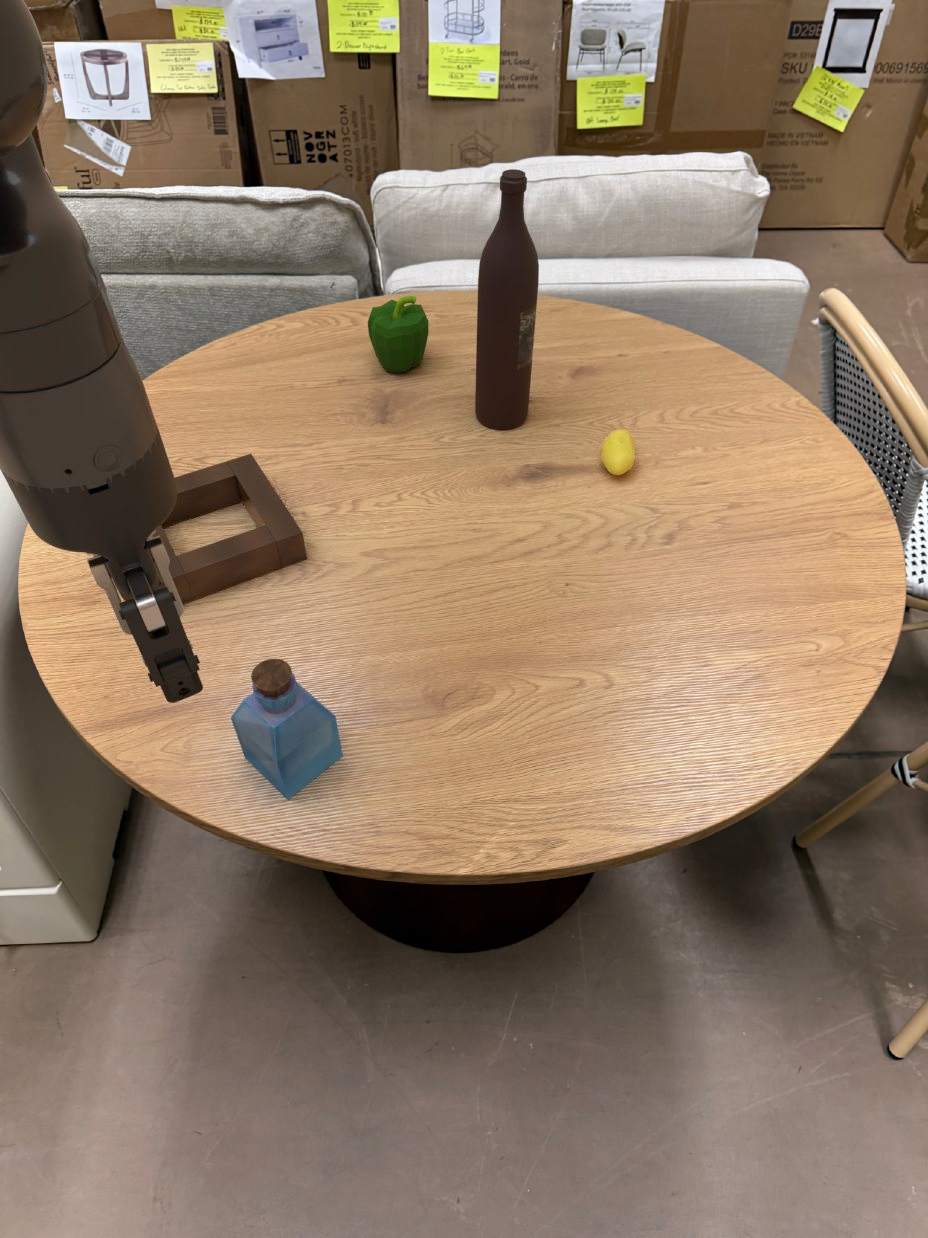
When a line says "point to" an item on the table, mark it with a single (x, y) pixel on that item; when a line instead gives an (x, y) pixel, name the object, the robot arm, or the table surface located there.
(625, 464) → the lemon
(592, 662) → the table surface
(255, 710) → the perfume bottle
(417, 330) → the bell pepper
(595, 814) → the table surface
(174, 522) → the holder
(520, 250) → the wine bottle
